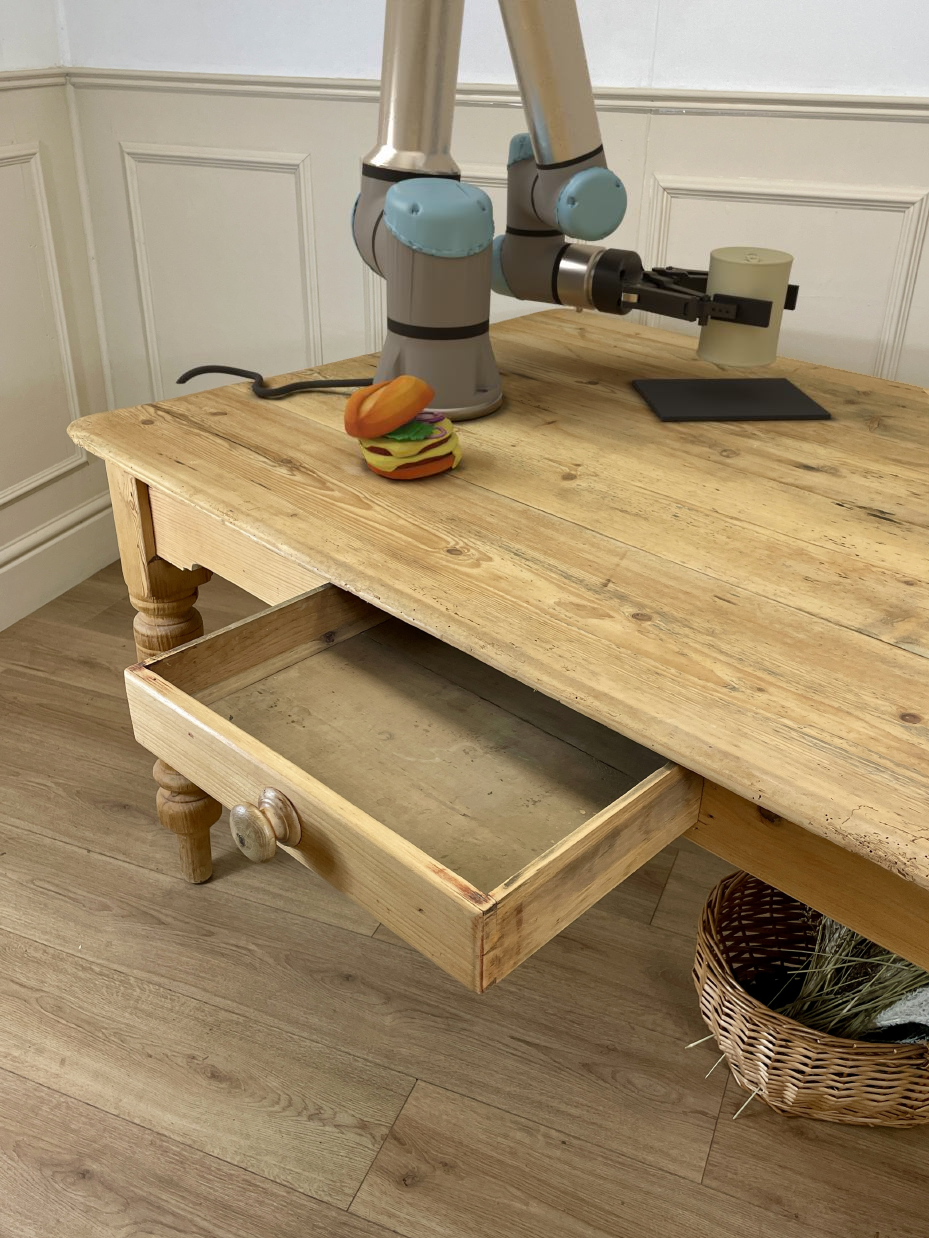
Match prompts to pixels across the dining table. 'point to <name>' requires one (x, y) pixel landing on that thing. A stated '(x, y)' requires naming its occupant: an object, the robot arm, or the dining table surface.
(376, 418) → the cheeseburger
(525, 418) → the dining table surface
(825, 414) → the placemat
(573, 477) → the dining table surface
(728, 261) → the can
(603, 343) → the dining table surface
